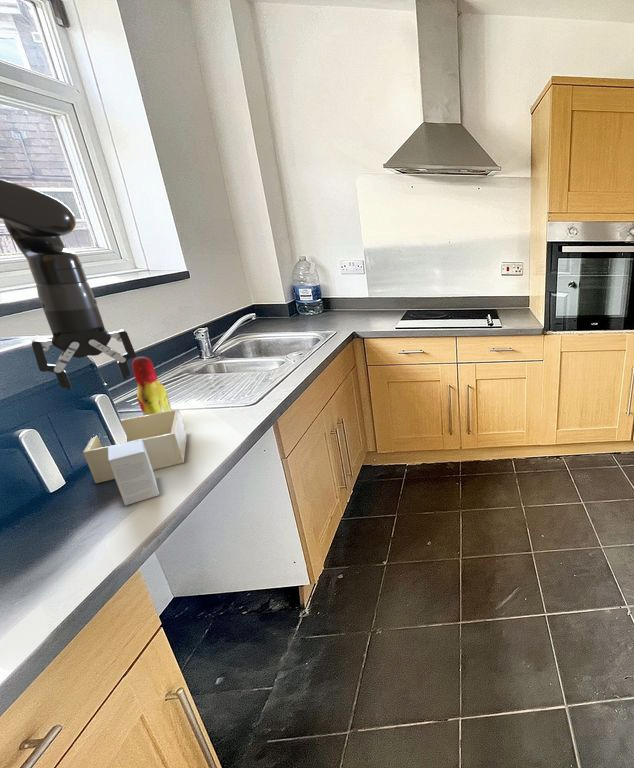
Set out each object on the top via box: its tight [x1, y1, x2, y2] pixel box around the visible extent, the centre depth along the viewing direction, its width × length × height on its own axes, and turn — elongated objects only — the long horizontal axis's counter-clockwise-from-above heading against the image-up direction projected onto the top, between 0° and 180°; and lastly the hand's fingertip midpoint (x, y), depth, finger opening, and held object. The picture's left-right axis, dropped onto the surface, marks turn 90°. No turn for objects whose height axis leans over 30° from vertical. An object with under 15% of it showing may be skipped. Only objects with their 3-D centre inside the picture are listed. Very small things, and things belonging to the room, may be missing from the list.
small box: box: [108, 439, 160, 506], centre depth 86 cm, size 8×6×10 cm
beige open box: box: [82, 408, 188, 484], centre depth 101 cm, size 16×18×8 cm
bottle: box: [131, 356, 172, 416], centre depth 117 cm, size 12×6×20 cm, turn 30°
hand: (98, 383), depth 87 cm, fingers open, 8 cm apart
